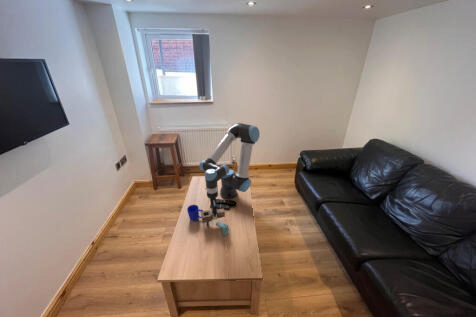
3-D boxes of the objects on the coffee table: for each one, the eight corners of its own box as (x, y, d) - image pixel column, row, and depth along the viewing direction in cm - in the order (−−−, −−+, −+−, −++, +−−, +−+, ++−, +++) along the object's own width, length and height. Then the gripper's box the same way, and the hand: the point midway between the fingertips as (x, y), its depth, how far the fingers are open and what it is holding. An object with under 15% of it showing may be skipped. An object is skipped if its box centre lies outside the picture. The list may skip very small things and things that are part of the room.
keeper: (219, 228, 138) (218, 220, 135) (228, 232, 135) (228, 225, 131) (216, 231, 136) (215, 223, 132) (225, 236, 132) (225, 228, 129)
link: (223, 212, 145) (223, 207, 143) (225, 218, 140) (225, 212, 138) (201, 216, 141) (200, 211, 139) (202, 223, 135) (202, 217, 133)
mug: (202, 223, 142) (200, 213, 138) (187, 221, 145) (185, 211, 140) (206, 215, 149) (204, 206, 145) (191, 213, 152) (189, 203, 147)
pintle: (207, 223, 143) (206, 214, 139) (209, 224, 142) (208, 216, 138) (205, 224, 141) (204, 216, 138) (207, 225, 140) (206, 217, 137)
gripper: (204, 185, 136) (207, 210, 146) (208, 199, 122) (211, 226, 132) (215, 183, 138) (217, 208, 148) (220, 197, 124) (222, 223, 134)
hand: (214, 216), depth 140 cm, fingers closed on link, 3 cm apart
